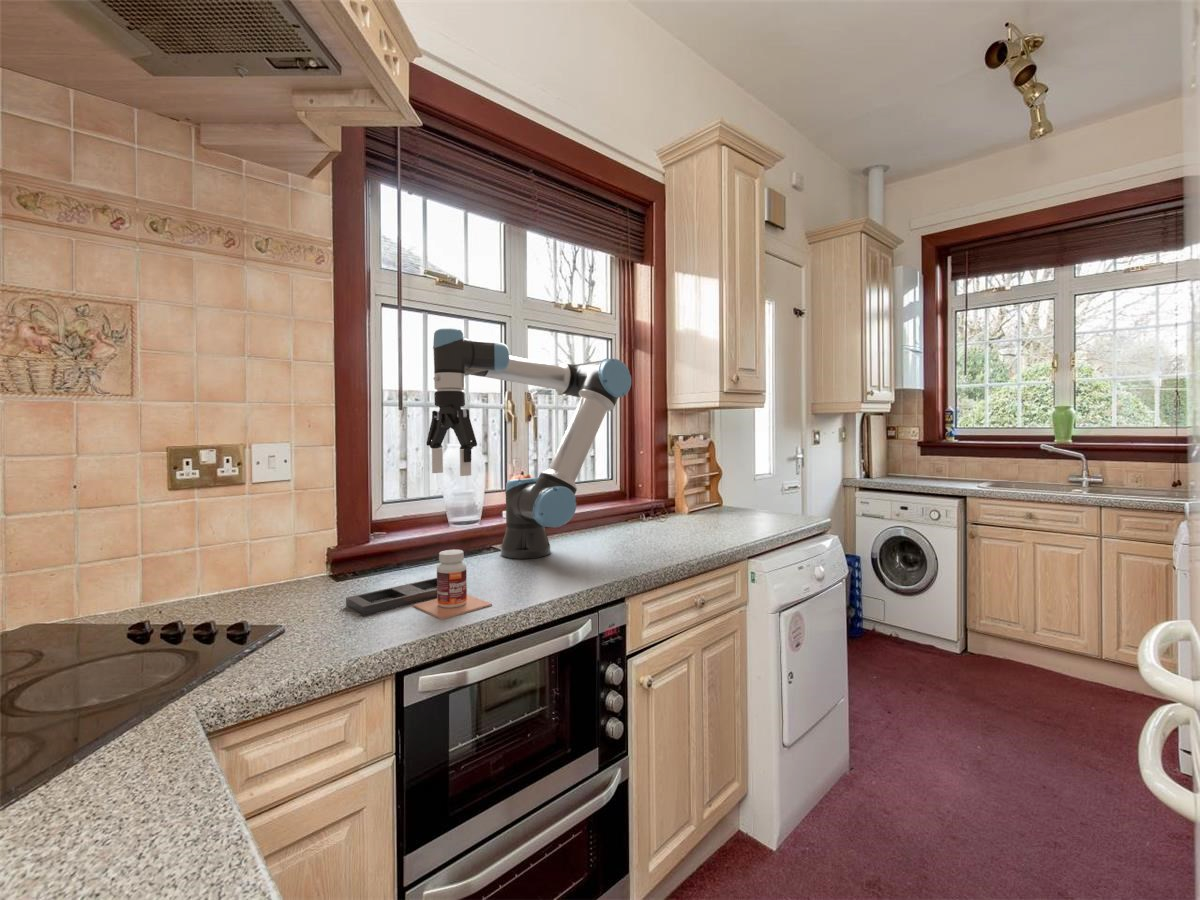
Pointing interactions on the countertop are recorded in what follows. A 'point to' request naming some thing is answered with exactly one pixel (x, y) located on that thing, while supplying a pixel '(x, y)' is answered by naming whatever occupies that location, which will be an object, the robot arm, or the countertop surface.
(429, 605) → the plate
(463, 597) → the pill bottle
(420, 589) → the compartment tray
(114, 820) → the countertop surface
